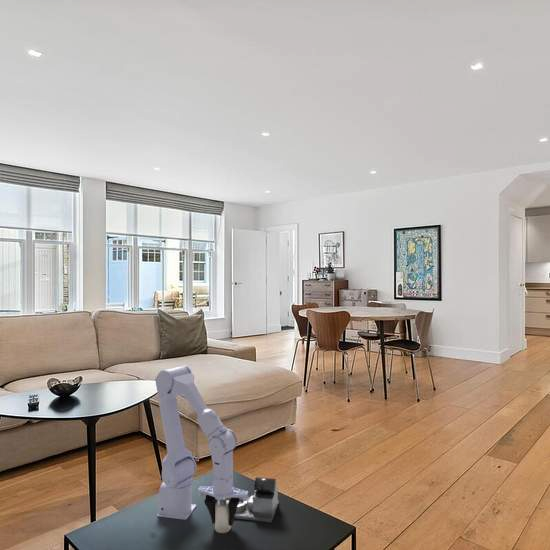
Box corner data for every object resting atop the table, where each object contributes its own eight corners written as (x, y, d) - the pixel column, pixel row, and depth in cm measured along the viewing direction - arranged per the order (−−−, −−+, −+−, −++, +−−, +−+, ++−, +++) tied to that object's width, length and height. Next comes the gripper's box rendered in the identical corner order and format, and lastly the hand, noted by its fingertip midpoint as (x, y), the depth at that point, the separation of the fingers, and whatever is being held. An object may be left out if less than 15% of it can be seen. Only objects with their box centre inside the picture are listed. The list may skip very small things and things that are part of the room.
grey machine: (212, 515, 128) (212, 482, 128) (224, 497, 139) (224, 466, 139) (271, 522, 125) (271, 488, 125) (278, 503, 135) (278, 471, 135)
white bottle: (212, 532, 120) (212, 503, 120) (218, 523, 124) (218, 495, 124) (228, 533, 119) (228, 505, 119) (232, 524, 123) (232, 497, 124)
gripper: (193, 479, 119) (193, 527, 119) (243, 483, 116) (243, 533, 116) (202, 468, 126) (202, 514, 126) (250, 472, 123) (250, 519, 123)
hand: (223, 522), depth 122 cm, fingers closed on white bottle, 4 cm apart
